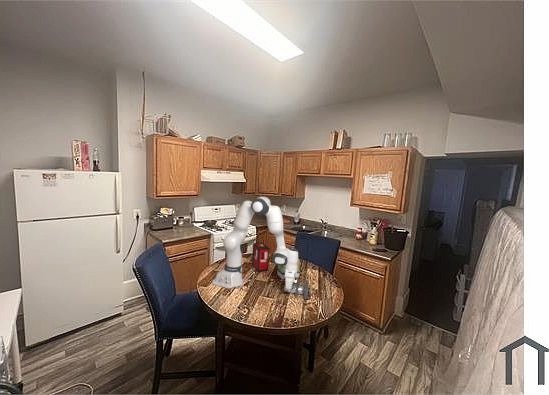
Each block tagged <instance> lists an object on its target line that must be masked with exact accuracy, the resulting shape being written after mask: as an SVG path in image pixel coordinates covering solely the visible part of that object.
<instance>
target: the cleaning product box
mask: <svg viewBox="0 0 549 395" xmlns="http://www.w3.org/2000/svg"><path fill="white" fill-rule="evenodd" d="M269 261H270V247H269V246H268V245H266V244H265V243H263V242H262V241H261V242H252V258H251V265H252V266H253V268H255V270H256V271H257V272H258V273H262V272H269V267H270V266H269V264H270V262H269Z"/></svg>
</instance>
